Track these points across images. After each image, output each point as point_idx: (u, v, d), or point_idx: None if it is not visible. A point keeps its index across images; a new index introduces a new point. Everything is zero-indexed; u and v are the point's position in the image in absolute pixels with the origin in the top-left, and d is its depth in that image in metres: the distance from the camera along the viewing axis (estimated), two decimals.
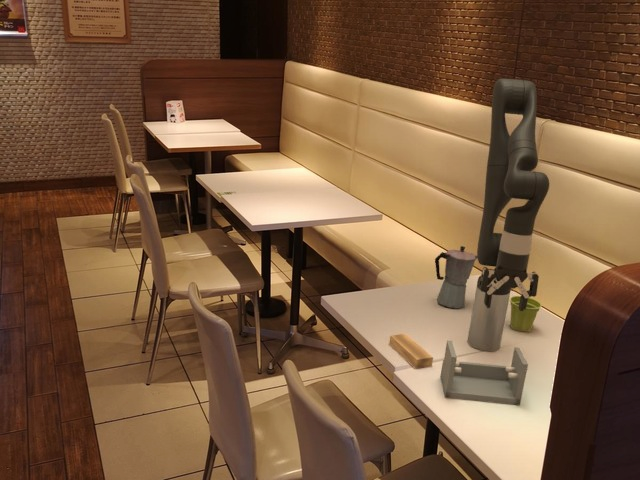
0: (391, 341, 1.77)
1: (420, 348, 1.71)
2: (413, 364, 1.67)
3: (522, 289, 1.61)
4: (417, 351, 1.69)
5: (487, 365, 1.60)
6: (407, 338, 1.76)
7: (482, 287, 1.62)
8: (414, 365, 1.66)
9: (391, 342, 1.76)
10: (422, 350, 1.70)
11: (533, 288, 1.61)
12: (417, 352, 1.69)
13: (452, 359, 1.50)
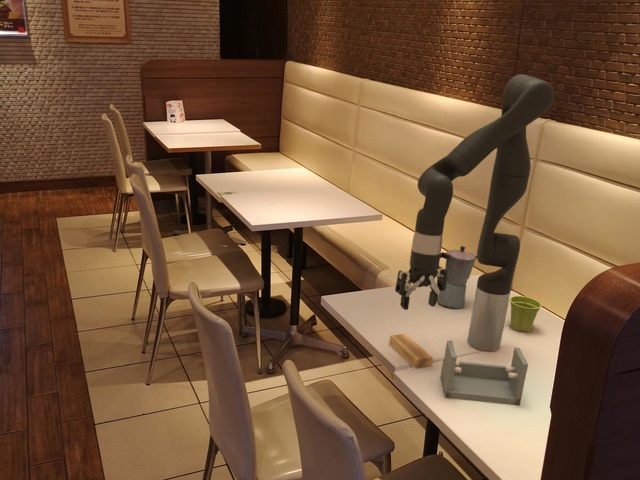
0: (391, 341, 1.77)
1: (420, 348, 1.71)
2: (413, 364, 1.67)
3: (435, 286, 1.66)
4: (417, 351, 1.69)
5: (487, 365, 1.60)
6: (407, 338, 1.76)
7: (401, 291, 1.62)
8: (414, 365, 1.66)
9: (391, 342, 1.76)
10: (422, 350, 1.70)
11: (443, 283, 1.67)
12: (417, 352, 1.69)
13: (452, 359, 1.50)
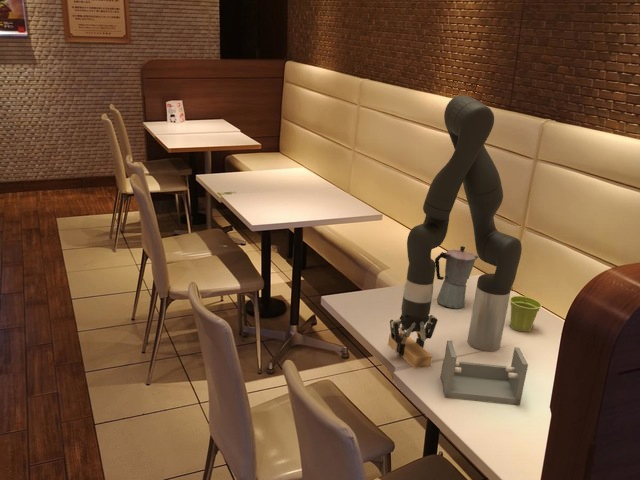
0: (390, 340, 1.76)
1: (419, 347, 1.71)
2: (412, 363, 1.67)
3: (423, 333, 1.70)
4: (416, 350, 1.69)
5: (487, 365, 1.60)
6: None
7: (396, 339, 1.68)
8: (413, 364, 1.66)
9: (390, 341, 1.76)
10: (421, 349, 1.70)
11: (430, 331, 1.71)
12: (416, 351, 1.69)
13: (452, 359, 1.50)
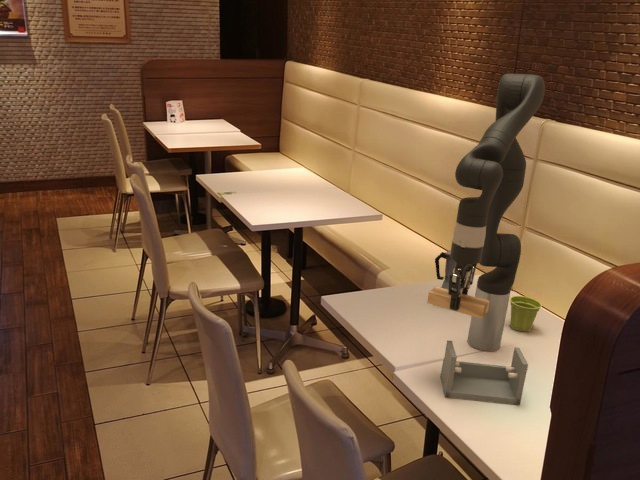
0: (431, 298, 1.58)
1: (468, 296, 1.58)
2: (476, 314, 1.53)
3: (471, 280, 1.57)
4: (472, 299, 1.56)
5: (487, 365, 1.60)
6: (444, 290, 1.60)
7: (458, 293, 1.51)
8: (479, 314, 1.53)
9: (432, 298, 1.58)
10: (473, 297, 1.57)
11: (472, 276, 1.59)
12: (472, 300, 1.55)
13: (452, 359, 1.50)
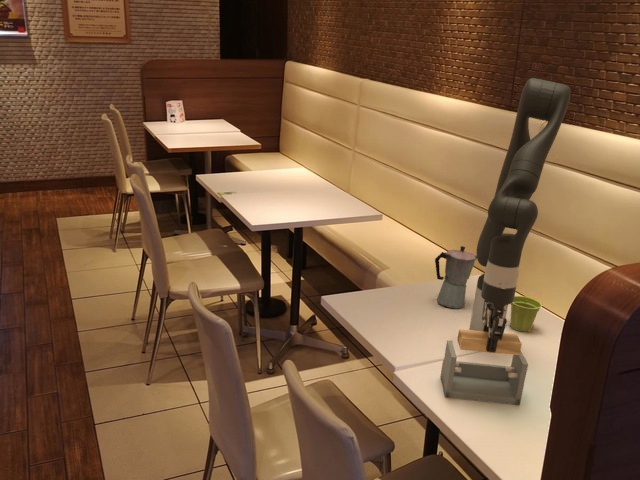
0: (465, 343, 1.51)
1: None
2: (514, 351, 1.50)
3: None
4: (503, 337, 1.52)
5: (487, 365, 1.60)
6: (471, 332, 1.54)
7: None
8: (517, 351, 1.50)
9: (466, 344, 1.51)
10: None
11: None
12: (505, 338, 1.52)
13: (452, 359, 1.50)
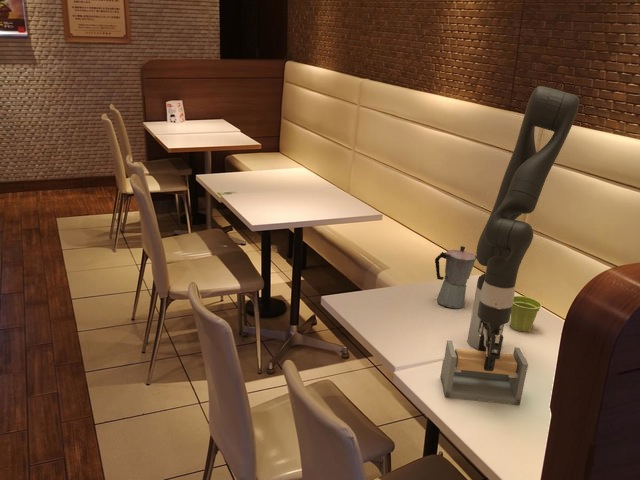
0: (461, 363, 1.52)
1: None
2: (509, 371, 1.52)
3: None
4: None
5: None
6: (467, 351, 1.55)
7: None
8: (512, 371, 1.52)
9: (462, 364, 1.52)
10: None
11: None
12: (501, 358, 1.54)
13: (452, 359, 1.50)
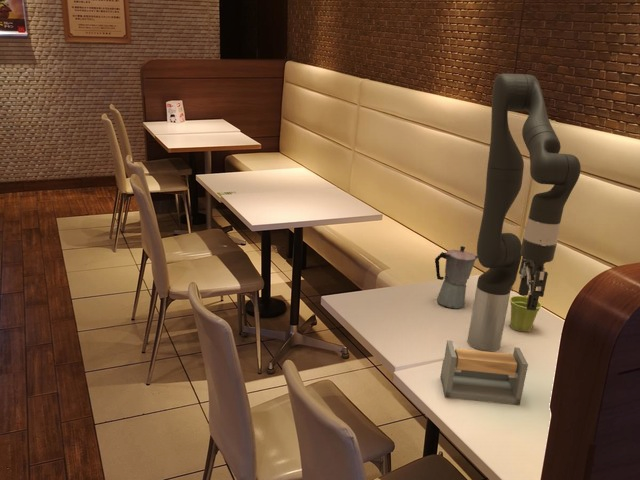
0: (461, 363, 1.52)
1: (492, 353, 1.56)
2: (509, 371, 1.52)
3: None
4: (499, 357, 1.54)
5: None
6: (467, 351, 1.55)
7: None
8: (512, 371, 1.52)
9: (462, 364, 1.52)
10: (497, 354, 1.55)
11: None
12: (501, 358, 1.54)
13: (452, 359, 1.50)
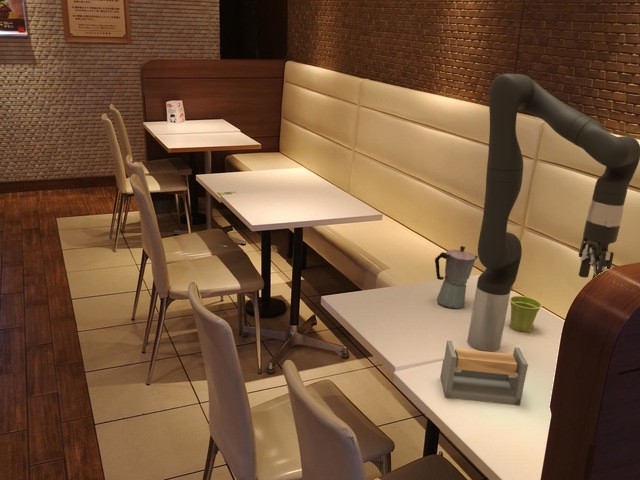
0: (461, 363, 1.52)
1: (492, 353, 1.56)
2: (509, 371, 1.52)
3: None
4: (499, 357, 1.54)
5: None
6: (467, 351, 1.55)
7: None
8: (512, 371, 1.52)
9: (462, 364, 1.52)
10: (497, 354, 1.55)
11: None
12: (501, 358, 1.54)
13: (452, 359, 1.50)
